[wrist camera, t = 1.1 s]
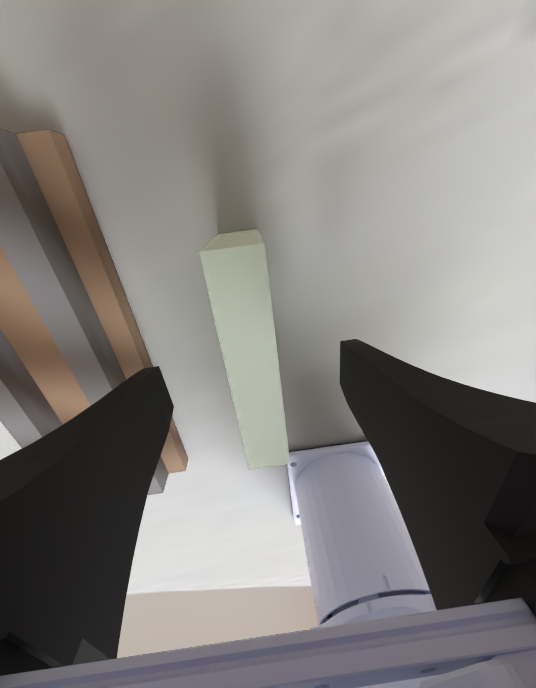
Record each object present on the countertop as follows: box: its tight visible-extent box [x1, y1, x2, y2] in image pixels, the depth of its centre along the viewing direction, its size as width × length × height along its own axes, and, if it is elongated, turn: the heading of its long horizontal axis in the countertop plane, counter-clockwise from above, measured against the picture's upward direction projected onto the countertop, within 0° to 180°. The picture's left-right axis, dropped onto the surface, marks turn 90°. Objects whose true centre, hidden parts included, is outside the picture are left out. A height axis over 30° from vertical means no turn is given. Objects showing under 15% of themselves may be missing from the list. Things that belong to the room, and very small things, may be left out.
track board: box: [0, 129, 188, 495], centre depth 14 cm, size 20×9×2 cm, turn 6°
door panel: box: [199, 229, 290, 470], centre depth 13 cm, size 10×2×6 cm, turn 6°
